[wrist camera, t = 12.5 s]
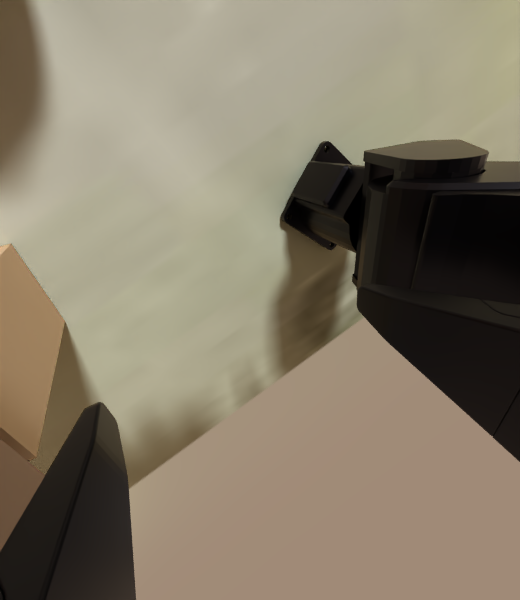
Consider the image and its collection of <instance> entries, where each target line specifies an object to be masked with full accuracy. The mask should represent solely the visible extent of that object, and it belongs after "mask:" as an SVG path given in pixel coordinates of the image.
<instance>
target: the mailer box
mask: <svg viewBox="0 0 520 600" xmlns="http://www.w3.org/2000/svg"><path fill="white" fill-rule="evenodd" d="M64 325H65V321H64V319H63V318H62V316H61V315H60V313H59V312H58V311H57V309H56V308H55V306H54V305H53V303H52V302H51V300H50V299H49V298H48V296H47V295H46V293H45V292H44V290H43V289H42V287H41V286H40V285H39V283H38V282H37V280H36V279H35V277H34V276H33V275H32V273H31V272H30V270H29V269H28V267H27V266H26V264H25V263H24V262H23V260H22V259H21V257H20V256H19V254H18V253H17V251H16V250H15V249H14V247H13V246H12V244H7V245H4V246H0V439H1V440H2V441H4V442H5V443H6V444H7V445H8V446H10V447H11V448H12V449H13V450H15V451H16V452H17V453H18V454H20V455H21V456H22V457H23V458H24V459H26V460H27V461H30V460H32V459H34V458H36V457H37V453H38V448H39V444H40V439H41V434H42V429H43V425H44V420H45V415H46V410H47V406H48V401H49V396H50V391H51V386H52V382H53V377H54V372H55V367H56V363H57V358H58V353H59V348H60V344H61V339H62V334H63V329H64Z"/></svg>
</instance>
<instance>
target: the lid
mask: <svg viewBox="0 0 520 600" xmlns="http://www.w3.org/2000/svg"><path fill="white" fill-rule="evenodd" d="M44 477H45V475H44V474H43V473H42V472H41V471H39V470H38V469H37V468H36V467H34V466H33V465H32V464H31V463H29V462H28V461H27V460H26V459H24V458H23V457H22V456H21V455H20V454H18V453H17V452H16V451H15V450H13V449H12V448H11V447H10V446H8V445H7V444H6V443H5V442H4V441H2V440H1V439H0V551H1V549H2V548H3V546H4V544H5V543H6V541H7V539H8V538H9V536H10V534H11V532H12V531H13V529H14V527H15V526H16V524H17V522H18V521H19V519H20V517H21V515H22V514H23V512H24V510H25V509H26V507H27V505H28V504H29V502H30V500H31V499H32V497H33V495H34V493H35V492H36V490H37V488H38V487H39V485H40V483H41V482H42V480H43V478H44Z"/></svg>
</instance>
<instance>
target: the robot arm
mask: <svg viewBox="0 0 520 600" xmlns="http://www.w3.org/2000/svg"><path fill="white" fill-rule="evenodd" d="M325 146H326V151H324V148H325ZM488 154H489V152H488V151H487V150H485V149H482V148H480V147H477V146H475V145H472V144H470V143H467V142H465V141H462V140H431V141H417V142H411V143H406V144H400V145H395V146H389V147H383V148H378V149H372V150H366V151H364V160H363V161H364V162H365V166H360V165H352V164H351V163H350V162H349V161H348V160H347V159H346V158H345V157H344V156H343V155H342V154H341V153H340V152H339V150H338V149H337V148H336V147H335V146H334V145H333V144H332V143H331V142H329V141H323V142H322V143H321V144H320V145H319V147H318V149H317V150H316V152H315V154H314V156H313V158H312V160H311V161H310V162H309V163H308V165H307V166H306V168H305V170H304V172H303V174H302V176H301V177H300V179H299V181H298V183H297V185H296V187H295V188H294V190H293V194H292V196H291V198H290V200H289V202H288V203H287V205H286V207H285V209H284V211H283V213H282V215H281V218H282V220H283V221H284V222H285V223H287V224H289V225H290V226H292V227H293V228H295V229H296V230H298V231H300V232H301V233H303V234H304V235H306V236H308V237H309V238H311V239H312V240H314V241H315V242H317V243H319V244H320V245H322V246H323V247H325V248H327V249H329V250H332V249H334V248H335V246H336V245H339V246H341V247H344V248H346V249H348V250H350V251H353V252H355V253H356V261H355V271H354V274H353V277H352V282H353V283H354V285H355V286H356V287H357V308H358V310H359V312H360V313H361V314H362V315H363V316H364V317H365V318H366V319H367V320H368V322H369V323H370V324H371V325H372V326H373V327H374V328H375V329H376V330H377V331H378V333H379V334H380V335H381V336H382V337H383V338H384V339H385V340H386V341H387V342H388V343H389V344H390V345H391V346H393V347H394V348H395V349H396V350H397V351H398V352H399V353H400V354H402V356H404V357H405V358H406V359H407V360H408V361H409V362H410V363H411V364H412V365H413V366H415V367H416V368H417V369H418V370H419V371H420V372H421V373H422V374H424V375H425V376H426V377H427V378H428V379H429V380H430V381H431V382H432V383H433V384H435V385H436V386H437V387H438V388H439V389H440V390H441V391H442V392H443V393H444V394H446V395H447V396H448V397H449V398H450V399H451V400H452V401H454V403H456V404H457V405H458V406H459V407H460V408H461V409H462V410H463V411H464V412H466V413H467V414H468V415H469V416H470V417H471V418H472V419H473V420H474V421H475V422H477V423H478V424H479V425H480V426H481V427H482V428H483V429H484V430H485V431H487V432H488V433H489V434H490V435H491V436H493V438H494V439H495V440H496V441H498V443H500V444H501V445H502V446H503V447H504V448H505V449H506V450H507V451H508V452H510V453H511V454H512V455H513V456H514V457H515V458H516V459H517V460H518V461H519V462H520V162H499V161H486V160H487V157H488ZM288 214H289V215H290V216H289V218H288V219H287V215H288ZM330 243H331V245H330ZM0 600H136V593H135V578H134V562H133V547H132V532H131V519H130V502H129V487H128V476H127V471H126V465H125V460H124V455H123V450H122V445H121V440H120V434H119V429H118V425H117V422H116V420H115V418H114V417H113V415H112V414H111V413H110V411H109V410H108V409H107V407H106V406H105V405H104V404H103V403H102V402H98V403H96V404H94V405H91V406H89V407H87V408H85V409H84V411H83V412H82V414H81V416H80V417H79V419H78V421H77V422H76V424H75V426H74V427H73V429H72V431H71V432H70V434H69V436H68V438H67V439H66V441H65V443H64V444H63V446H62V448H61V449H60V451H59V453H58V455H57V456H56V458H55V460H54V461H53V463H52V465H51V466H50V468H49V470H48V471H47V473H46V475H45V477H44V478H43V480H42V482H41V483H40V485H39V487H38V488H37V490H36V492H35V493H34V495H33V497H32V499H31V500H30V502H29V504H28V505H27V507H26V509H25V510H24V512H23V514H22V515H21V517H20V519H19V521H18V522H17V524H16V526H15V527H14V529H13V531H12V532H11V534H10V536H9V538H8V539H7V541H6V543H5V544H4V546H3V548H2V549H1V551H0Z"/></svg>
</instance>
